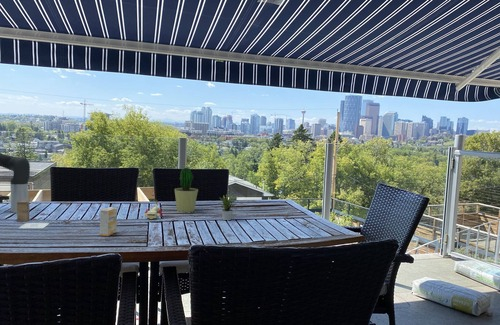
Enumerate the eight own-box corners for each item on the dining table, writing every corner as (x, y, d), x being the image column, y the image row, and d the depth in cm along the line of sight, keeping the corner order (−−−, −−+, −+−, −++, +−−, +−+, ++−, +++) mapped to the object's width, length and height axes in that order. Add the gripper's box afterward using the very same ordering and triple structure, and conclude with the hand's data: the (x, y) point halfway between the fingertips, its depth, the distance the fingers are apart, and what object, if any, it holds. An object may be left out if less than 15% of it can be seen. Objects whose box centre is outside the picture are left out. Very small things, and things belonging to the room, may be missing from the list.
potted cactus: (198, 213, 253) (200, 168, 250) (174, 213, 249) (175, 167, 246) (196, 208, 267) (197, 165, 265) (173, 209, 264) (174, 165, 261)
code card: (25, 223, 209) (25, 223, 209) (49, 223, 212) (49, 222, 212) (18, 228, 199) (18, 228, 199) (43, 228, 201) (43, 227, 201)
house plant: (235, 224, 228) (236, 196, 227) (212, 222, 231) (213, 195, 230) (240, 219, 242) (241, 193, 241) (219, 217, 245) (220, 191, 244)
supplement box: (108, 236, 191) (108, 210, 190) (99, 235, 192) (99, 209, 191) (117, 232, 200) (117, 207, 199) (108, 231, 200) (108, 206, 199)
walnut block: (20, 220, 216) (20, 200, 215) (29, 220, 217) (29, 200, 216) (17, 222, 211) (17, 202, 210) (26, 222, 212) (26, 202, 211)
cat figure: (148, 213, 253) (142, 219, 229) (149, 200, 253) (142, 204, 229) (164, 213, 254) (159, 219, 230) (164, 200, 254) (159, 204, 230)
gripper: (-35, 195, 201) (0, 195, 204) (-22, 190, 215) (10, 190, 218) (-34, 209, 202) (0, 209, 205) (-21, 203, 216) (11, 203, 219)
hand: (5, 199), depth 212 cm, fingers open, 8 cm apart
